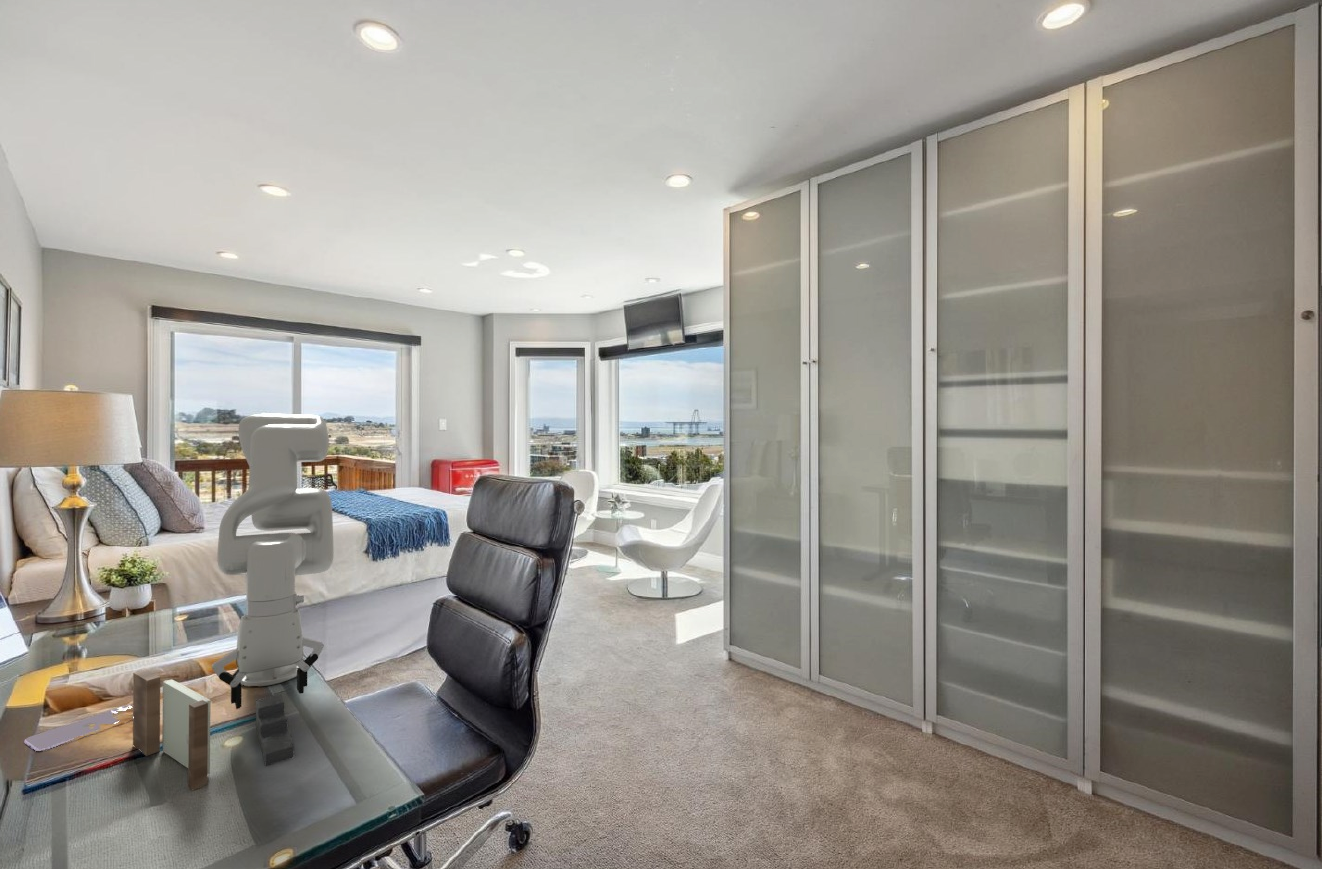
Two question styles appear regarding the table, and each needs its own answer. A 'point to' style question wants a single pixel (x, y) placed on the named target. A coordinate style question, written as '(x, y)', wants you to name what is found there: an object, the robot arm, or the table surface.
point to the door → (179, 721)
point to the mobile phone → (72, 730)
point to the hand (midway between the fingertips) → (270, 698)
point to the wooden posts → (149, 726)
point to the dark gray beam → (273, 730)
